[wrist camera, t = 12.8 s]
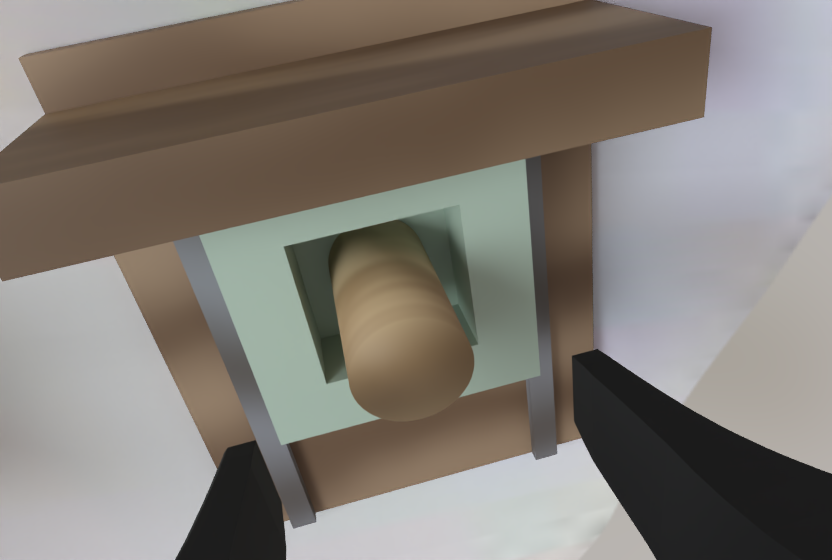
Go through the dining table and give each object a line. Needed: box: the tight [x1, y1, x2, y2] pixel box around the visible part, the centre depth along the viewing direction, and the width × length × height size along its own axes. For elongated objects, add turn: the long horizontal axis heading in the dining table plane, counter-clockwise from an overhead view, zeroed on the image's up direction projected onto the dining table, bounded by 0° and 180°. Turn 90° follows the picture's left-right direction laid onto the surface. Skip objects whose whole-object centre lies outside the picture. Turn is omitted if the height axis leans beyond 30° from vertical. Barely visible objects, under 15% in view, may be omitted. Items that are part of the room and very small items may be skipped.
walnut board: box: [0, 0, 712, 528], centre depth 20 cm, size 20×16×7 cm
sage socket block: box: [199, 159, 540, 445], centre depth 20 cm, size 9×9×3 cm
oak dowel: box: [328, 220, 474, 421], centre depth 18 cm, size 3×3×6 cm
